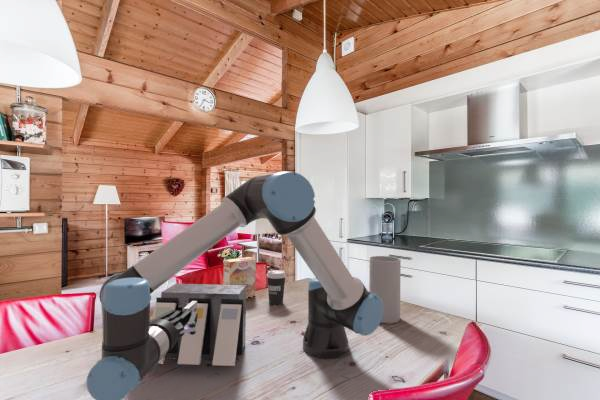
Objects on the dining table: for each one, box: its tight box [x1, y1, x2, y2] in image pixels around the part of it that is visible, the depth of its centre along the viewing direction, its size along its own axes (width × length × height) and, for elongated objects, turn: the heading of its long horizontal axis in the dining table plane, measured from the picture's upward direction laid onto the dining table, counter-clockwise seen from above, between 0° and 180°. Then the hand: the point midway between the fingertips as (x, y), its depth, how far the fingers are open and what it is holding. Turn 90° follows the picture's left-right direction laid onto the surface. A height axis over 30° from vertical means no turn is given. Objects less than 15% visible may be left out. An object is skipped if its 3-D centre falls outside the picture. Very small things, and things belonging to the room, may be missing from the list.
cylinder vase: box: [368, 255, 402, 325], centre depth 126 cm, size 12×12×25 cm
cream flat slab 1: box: [177, 303, 208, 365], centre depth 87 cm, size 1×6×16 cm, turn 88°
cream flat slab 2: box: [211, 304, 242, 367], centre depth 86 cm, size 1×6×16 cm, turn 89°
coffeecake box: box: [222, 256, 257, 299], centre depth 151 cm, size 15×7×20 cm, turn 131°
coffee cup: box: [266, 269, 287, 306], centre depth 143 cm, size 10×10×15 cm
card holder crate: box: [155, 283, 247, 362], centre depth 96 cm, size 10×27×20 cm, turn 88°
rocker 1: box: [151, 302, 176, 364], centre depth 87 cm, size 1×6×16 cm, turn 88°
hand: (194, 305), depth 88 cm, fingers closed
